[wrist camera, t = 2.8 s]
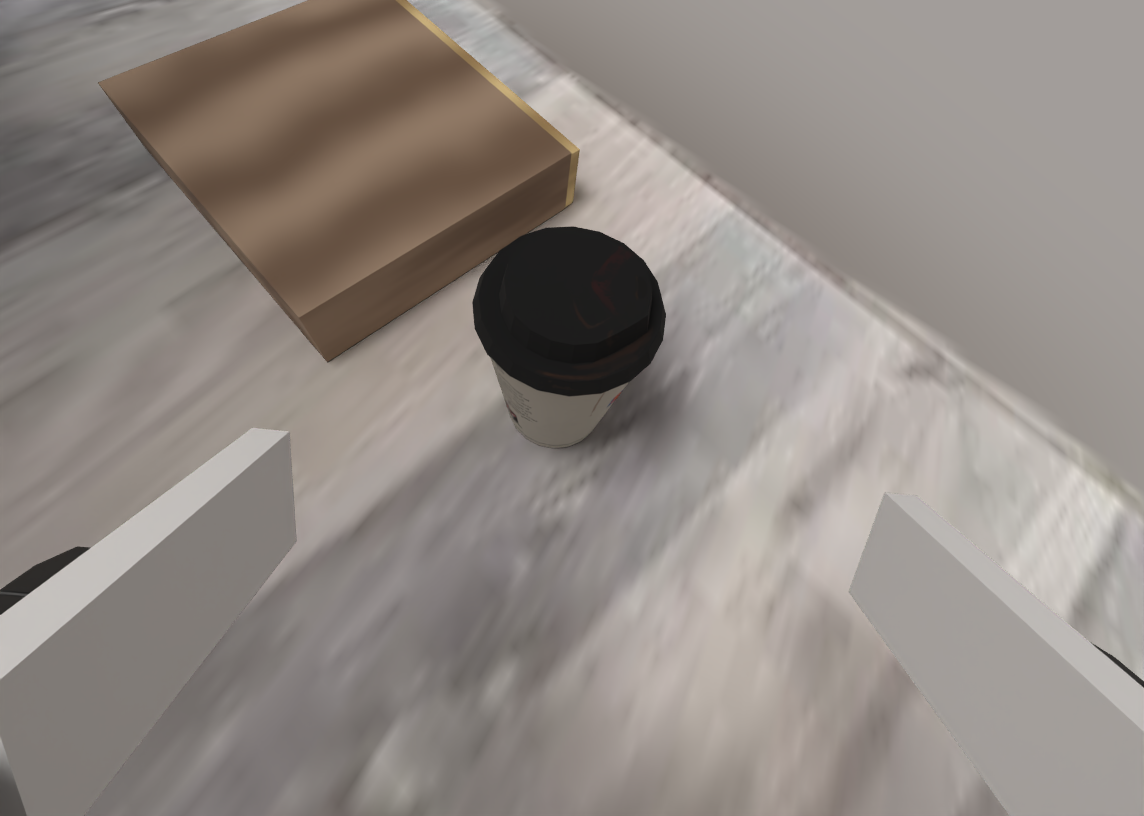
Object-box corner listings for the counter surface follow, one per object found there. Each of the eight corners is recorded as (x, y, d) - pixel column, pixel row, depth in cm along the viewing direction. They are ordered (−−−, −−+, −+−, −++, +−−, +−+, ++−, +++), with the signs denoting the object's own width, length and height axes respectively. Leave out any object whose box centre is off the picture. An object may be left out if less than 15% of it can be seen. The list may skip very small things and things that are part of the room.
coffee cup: (478, 469, 26) (459, 370, 17) (489, 340, 29) (477, 195, 20) (626, 474, 27) (684, 381, 17) (621, 348, 29) (670, 210, 20)
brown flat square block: (145, 148, 32) (97, 82, 28) (390, 39, 37) (376, -27, 34) (327, 362, 27) (298, 317, 24) (572, 203, 33) (579, 147, 29)
